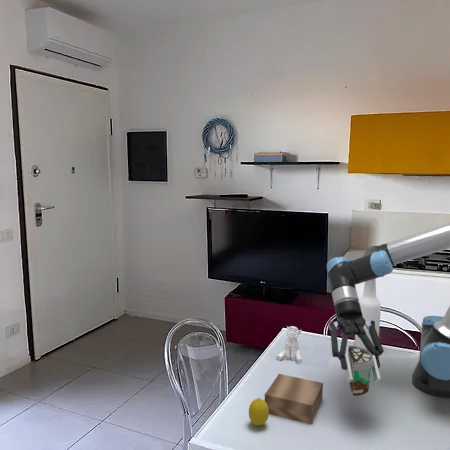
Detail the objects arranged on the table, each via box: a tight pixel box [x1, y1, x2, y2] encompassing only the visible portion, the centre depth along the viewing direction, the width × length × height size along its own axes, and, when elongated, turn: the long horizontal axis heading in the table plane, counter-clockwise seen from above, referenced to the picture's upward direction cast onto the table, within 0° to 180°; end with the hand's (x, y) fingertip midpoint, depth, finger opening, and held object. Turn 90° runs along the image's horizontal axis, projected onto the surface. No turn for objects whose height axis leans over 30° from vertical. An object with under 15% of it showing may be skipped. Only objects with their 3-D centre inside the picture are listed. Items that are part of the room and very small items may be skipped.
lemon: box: [248, 397, 270, 426], centre depth 125 cm, size 6×6×8 cm
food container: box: [347, 345, 374, 397], centre depth 127 cm, size 12×6×10 cm, turn 172°
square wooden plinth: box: [264, 373, 324, 425], centre depth 136 cm, size 14×14×6 cm
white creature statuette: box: [275, 325, 303, 365], centre depth 168 cm, size 10×9×12 cm
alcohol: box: [354, 278, 382, 350], centre depth 176 cm, size 9×9×30 cm
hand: (364, 380), depth 125 cm, fingers closed on food container, 7 cm apart
